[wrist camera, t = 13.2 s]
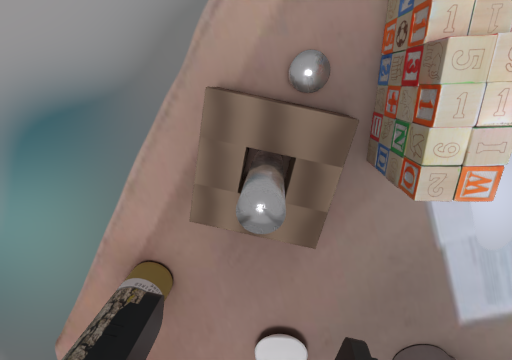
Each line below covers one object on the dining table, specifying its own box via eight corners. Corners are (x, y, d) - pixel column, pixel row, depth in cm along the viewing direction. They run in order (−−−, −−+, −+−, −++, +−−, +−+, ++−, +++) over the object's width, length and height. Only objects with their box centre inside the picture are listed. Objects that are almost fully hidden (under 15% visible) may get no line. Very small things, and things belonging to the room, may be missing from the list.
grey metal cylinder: (327, 58, 29) (335, 54, 25) (317, 95, 30) (323, 96, 26) (292, 51, 29) (295, 45, 25) (284, 88, 30) (285, 88, 26)
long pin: (286, 152, 33) (291, 195, 20) (279, 180, 34) (279, 238, 21) (255, 145, 33) (240, 184, 20) (249, 174, 34) (232, 228, 21)
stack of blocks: (392, -47, 25) (489, -160, 14) (460, -52, 25) (620, -173, 13) (365, 161, 32) (414, 203, 21) (417, 161, 32) (496, 204, 20)
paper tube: (141, 252, 40) (-48, 484, 17) (180, 271, 41) (50, 520, 17) (128, 281, 42) (-55, 521, 19) (165, 299, 43) (32, 550, 20)
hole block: (346, 115, 31) (359, 120, 26) (310, 227, 36) (315, 248, 32) (216, 86, 31) (205, 87, 26) (200, 203, 36) (189, 221, 32)
